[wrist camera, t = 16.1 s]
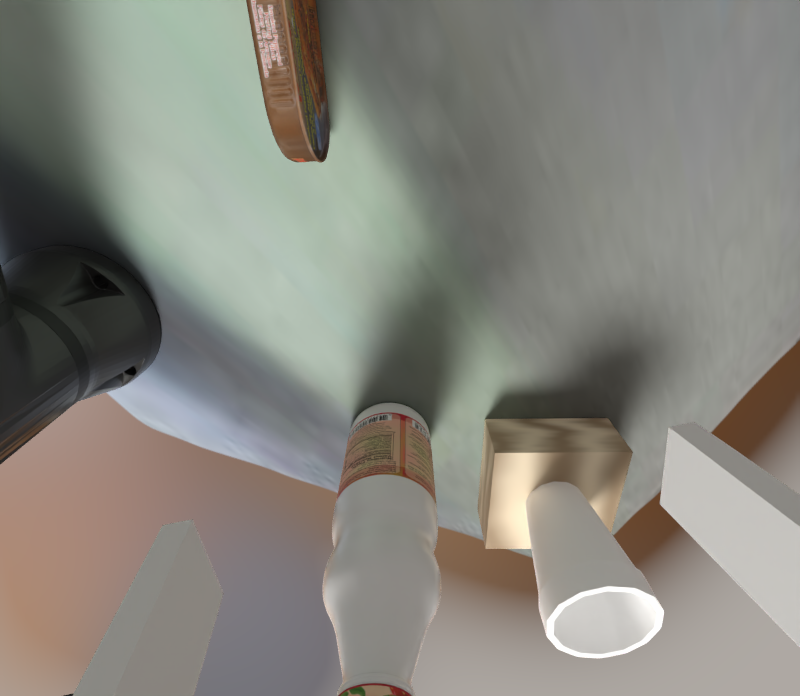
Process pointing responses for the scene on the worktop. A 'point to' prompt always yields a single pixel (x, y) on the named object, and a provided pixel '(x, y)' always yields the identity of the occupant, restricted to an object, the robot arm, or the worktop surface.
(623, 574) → the foam cup
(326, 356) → the worktop surface
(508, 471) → the maple block
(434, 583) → the fruit juice
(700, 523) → the robot arm
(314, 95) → the tin
